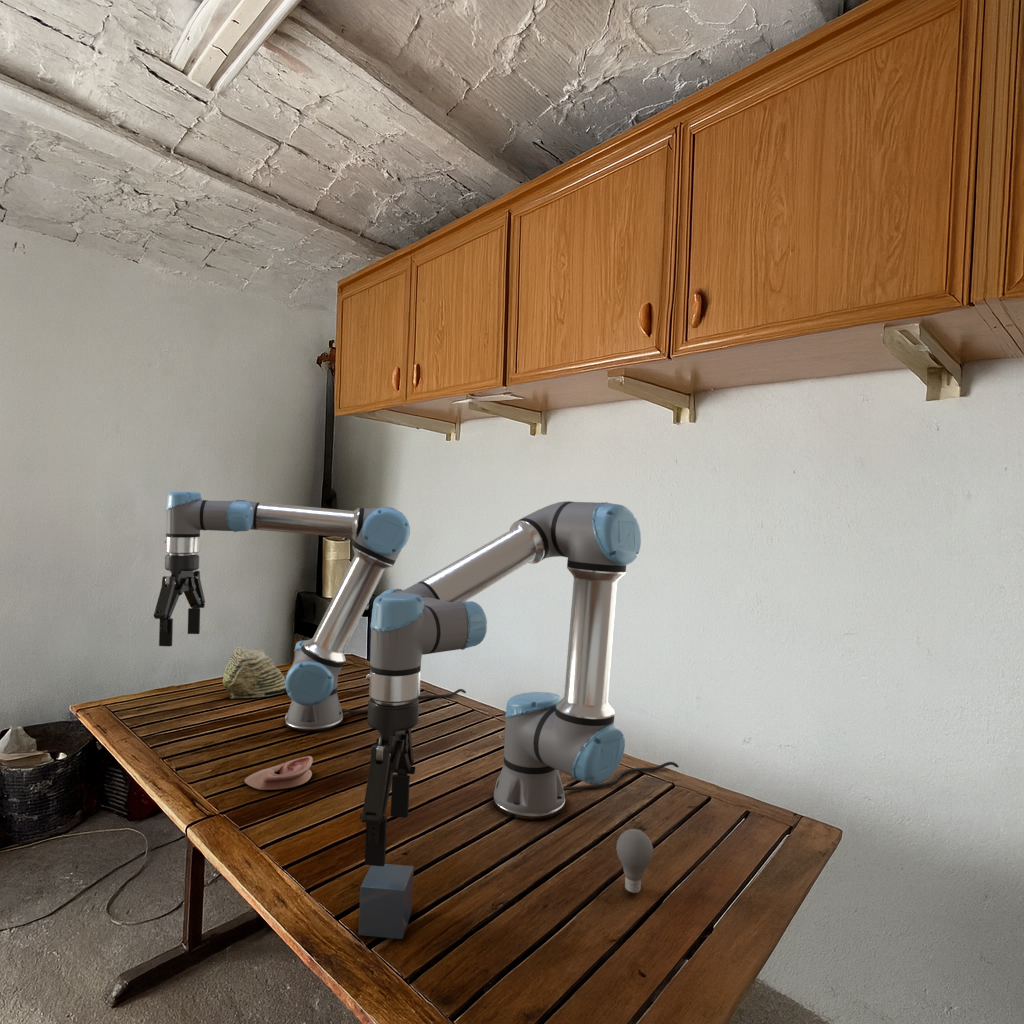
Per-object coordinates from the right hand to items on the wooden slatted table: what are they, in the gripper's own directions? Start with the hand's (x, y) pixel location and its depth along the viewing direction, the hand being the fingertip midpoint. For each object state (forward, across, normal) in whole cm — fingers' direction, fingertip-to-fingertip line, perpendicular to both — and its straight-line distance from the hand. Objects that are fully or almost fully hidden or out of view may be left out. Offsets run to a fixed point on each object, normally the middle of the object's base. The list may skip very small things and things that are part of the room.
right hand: (388, 838), depth 95 cm
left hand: (-14, -57, -69) cm, 90 cm away
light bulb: (+13, -13, +38) cm, 43 cm away
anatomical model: (+13, -43, -36) cm, 57 cm away
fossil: (+13, -98, -69) cm, 120 cm away
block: (+13, 0, 0) cm, 13 cm away
